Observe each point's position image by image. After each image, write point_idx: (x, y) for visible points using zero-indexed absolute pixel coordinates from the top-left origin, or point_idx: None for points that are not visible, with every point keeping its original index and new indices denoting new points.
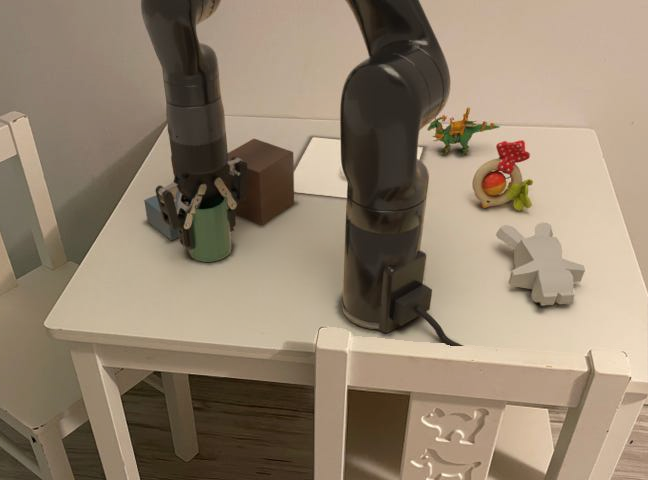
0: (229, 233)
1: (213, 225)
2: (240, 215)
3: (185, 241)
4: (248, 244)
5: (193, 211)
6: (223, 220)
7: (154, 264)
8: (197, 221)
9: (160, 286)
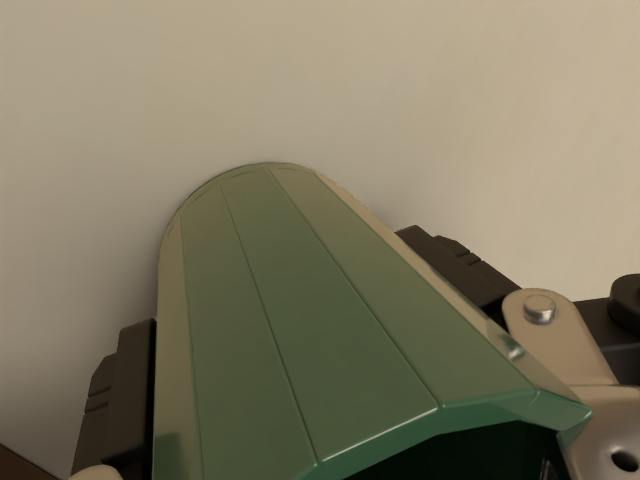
0: (173, 277)
1: (359, 269)
2: (40, 475)
3: (462, 254)
4: (48, 252)
5: (609, 399)
6: (247, 316)
7: (489, 242)
8: (493, 321)
9: (550, 86)
